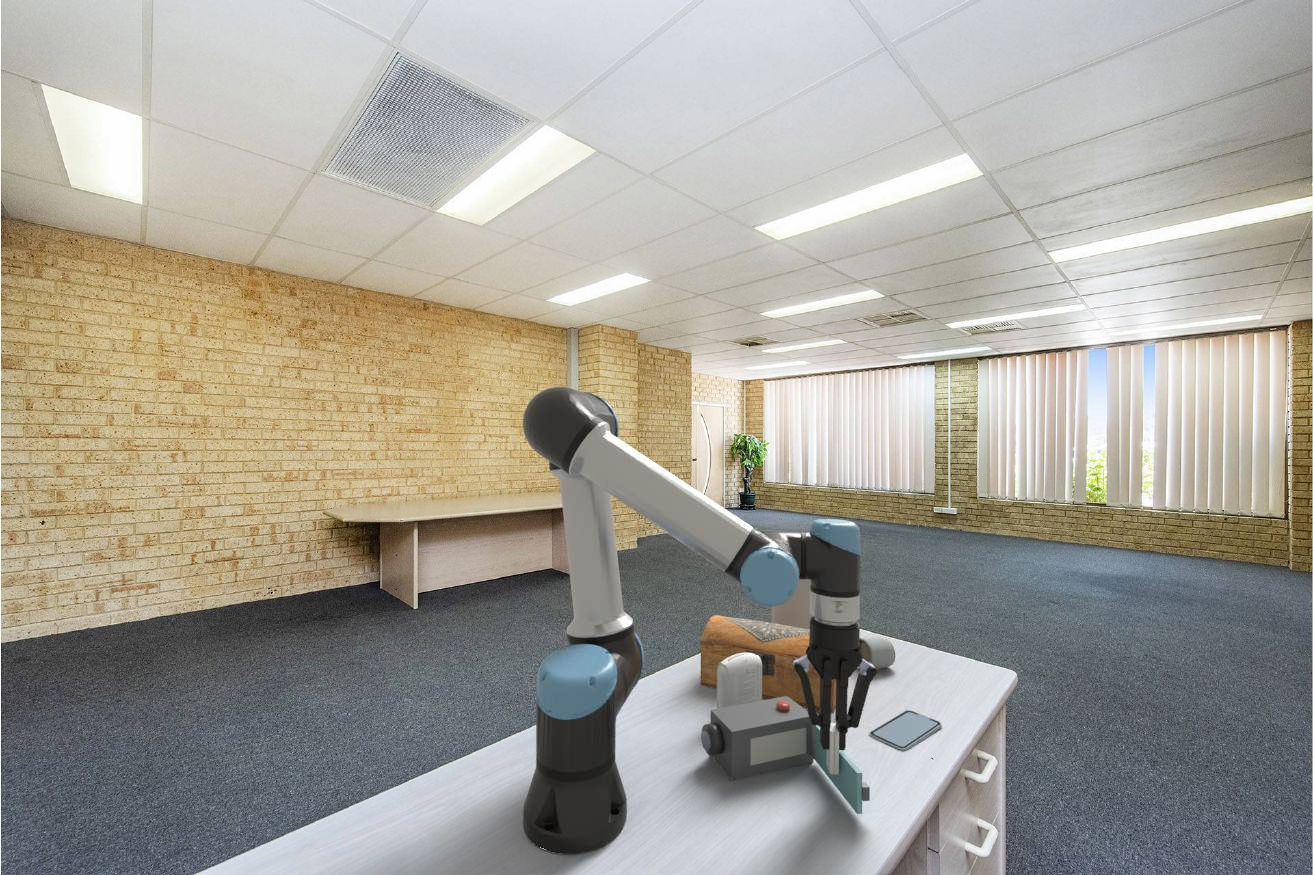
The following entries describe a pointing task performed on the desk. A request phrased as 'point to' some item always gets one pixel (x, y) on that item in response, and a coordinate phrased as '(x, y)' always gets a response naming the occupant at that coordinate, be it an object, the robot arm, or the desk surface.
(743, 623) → the wooden box
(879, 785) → the desk surface
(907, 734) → the smartphone
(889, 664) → the ceramic mug
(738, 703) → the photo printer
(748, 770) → the camera body
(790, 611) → the cylinder vase
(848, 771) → the side door
